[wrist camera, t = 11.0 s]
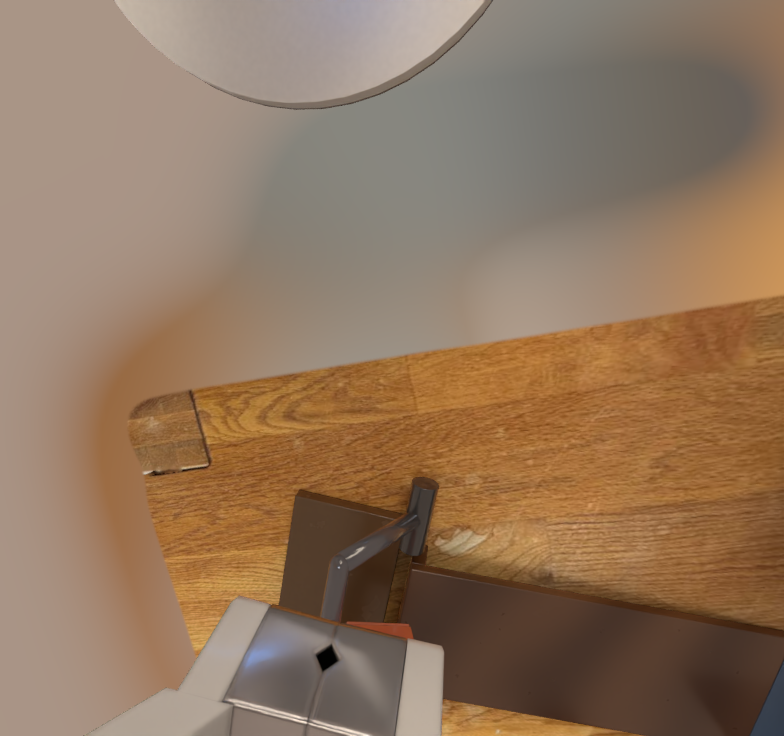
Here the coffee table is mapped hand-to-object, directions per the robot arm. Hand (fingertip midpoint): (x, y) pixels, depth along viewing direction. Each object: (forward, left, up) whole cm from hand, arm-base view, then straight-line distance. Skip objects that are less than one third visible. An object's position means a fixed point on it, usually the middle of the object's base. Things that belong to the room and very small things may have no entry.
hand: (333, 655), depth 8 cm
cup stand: (+20, +6, -28) cm, 35 cm away
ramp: (+13, +22, -28) cm, 38 cm away
